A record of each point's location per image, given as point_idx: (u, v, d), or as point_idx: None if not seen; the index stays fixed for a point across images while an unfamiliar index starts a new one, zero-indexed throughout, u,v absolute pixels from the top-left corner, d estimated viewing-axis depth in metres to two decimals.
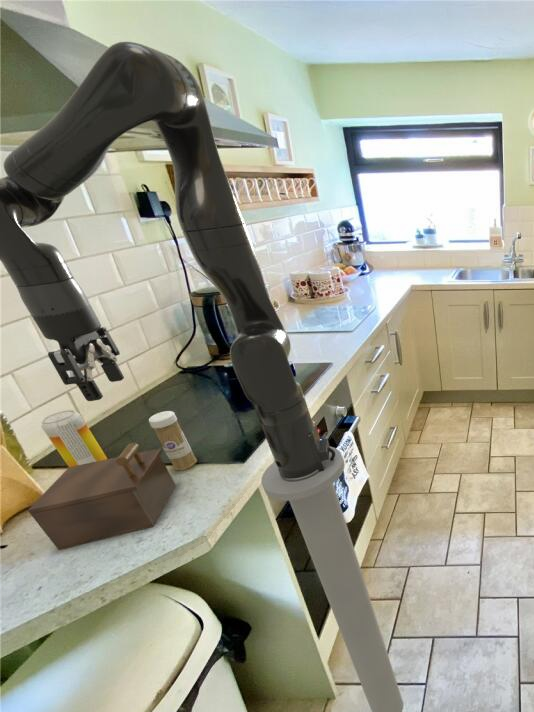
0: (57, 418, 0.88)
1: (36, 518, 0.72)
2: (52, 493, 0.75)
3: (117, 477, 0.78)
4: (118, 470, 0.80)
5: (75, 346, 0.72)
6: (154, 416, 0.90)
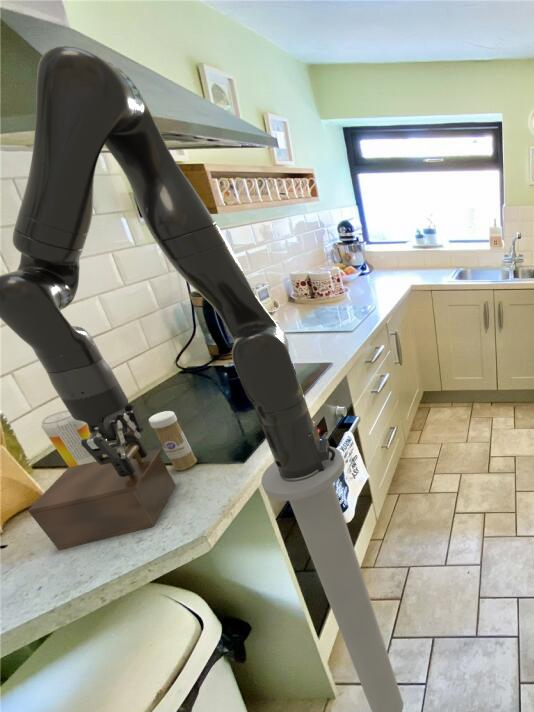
0: (57, 418, 0.88)
1: (36, 518, 0.72)
2: (52, 493, 0.75)
3: (117, 477, 0.78)
4: None
5: (104, 427, 0.72)
6: (154, 416, 0.90)
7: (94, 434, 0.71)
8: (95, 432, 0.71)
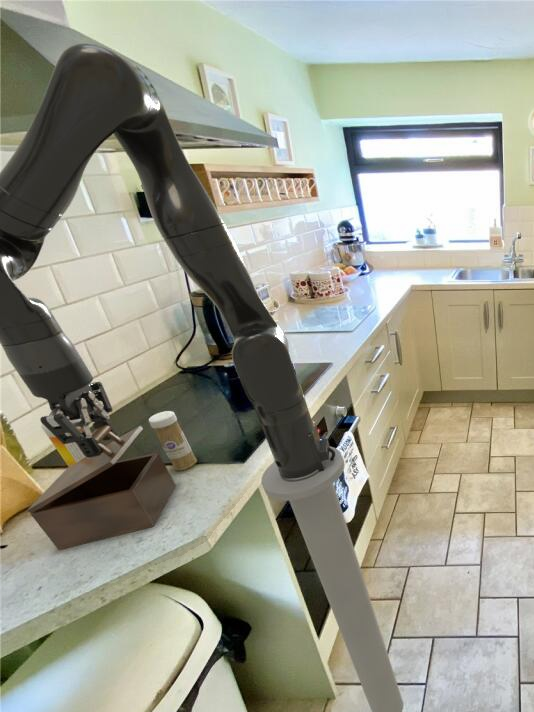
0: None
1: (36, 518, 0.72)
2: (48, 491, 0.74)
3: (99, 460, 0.76)
4: (102, 455, 0.78)
5: (66, 404, 0.69)
6: (154, 416, 0.90)
7: (55, 411, 0.67)
8: (56, 409, 0.68)
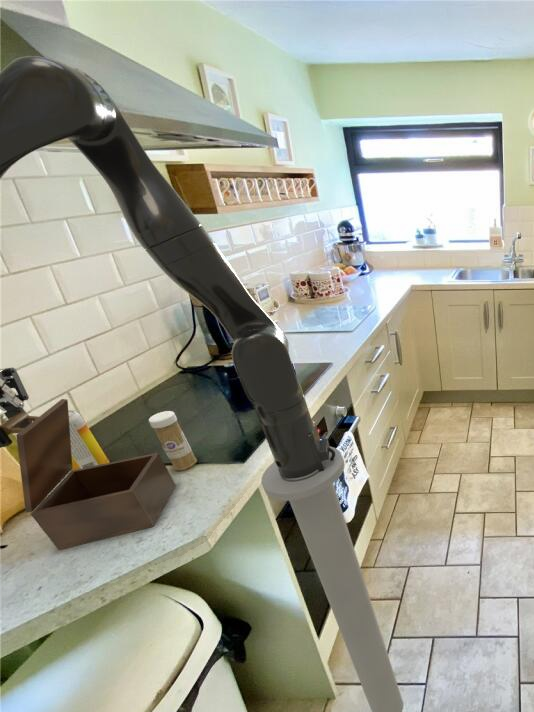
0: None
1: (36, 518, 0.72)
2: None
3: None
4: None
5: None
6: (154, 416, 0.90)
7: None
8: None
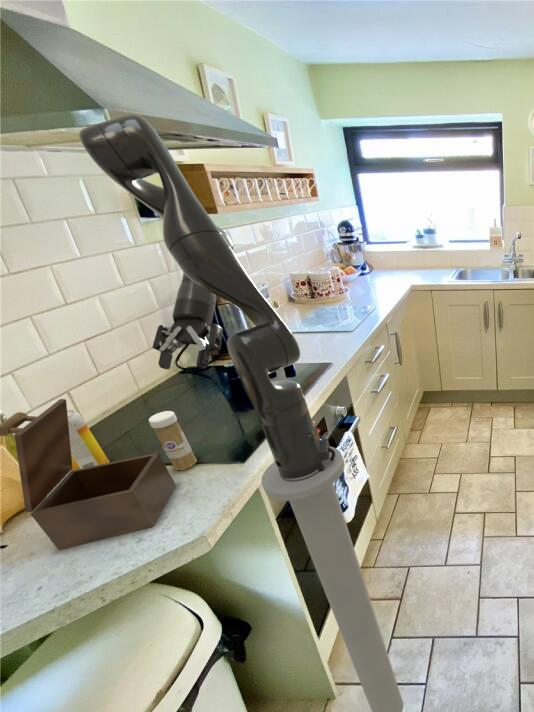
0: None
1: (36, 518, 0.72)
2: None
3: None
4: None
5: (172, 326, 0.98)
6: (154, 416, 0.90)
7: None
8: None
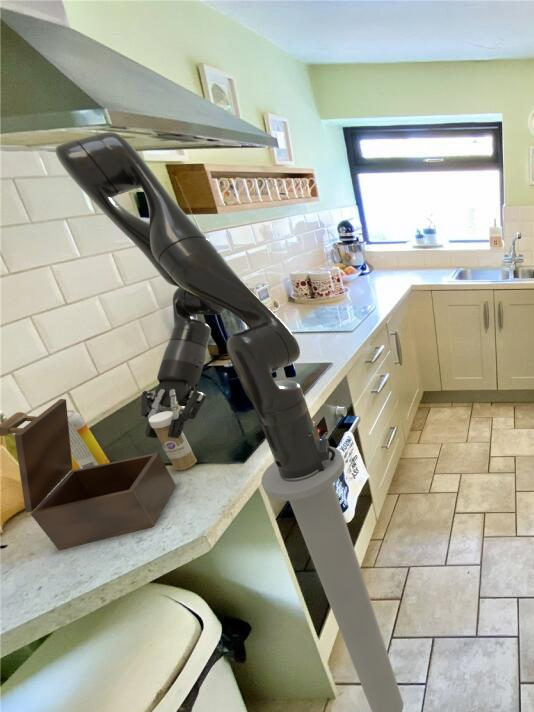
0: None
1: (36, 518, 0.72)
2: None
3: None
4: None
5: (156, 388, 0.93)
6: (154, 416, 0.90)
7: None
8: None
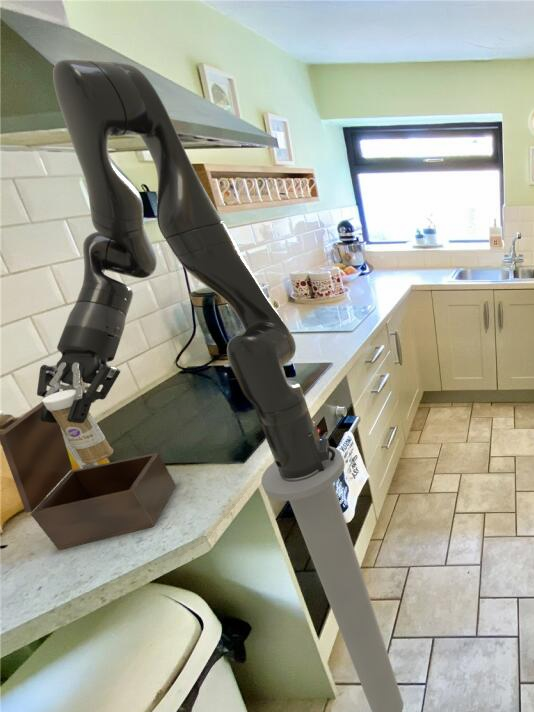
0: None
1: (36, 518, 0.72)
2: None
3: None
4: None
5: (58, 362, 0.75)
6: (51, 395, 0.72)
7: None
8: None
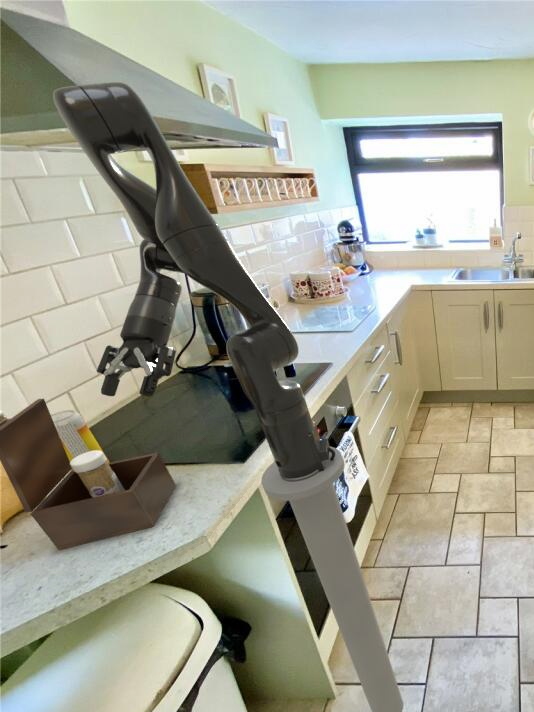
0: (57, 418, 0.88)
1: (36, 518, 0.72)
2: None
3: None
4: None
5: (120, 347, 0.86)
6: (77, 457, 0.76)
7: (119, 348, 0.87)
8: None
